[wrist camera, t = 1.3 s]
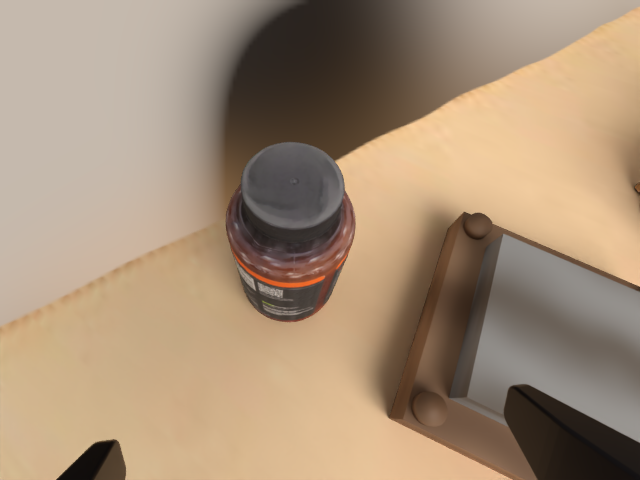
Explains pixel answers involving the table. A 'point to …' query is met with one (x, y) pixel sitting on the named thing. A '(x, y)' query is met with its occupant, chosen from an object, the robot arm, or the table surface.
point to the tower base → (444, 348)
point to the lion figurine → (638, 187)
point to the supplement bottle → (290, 229)
